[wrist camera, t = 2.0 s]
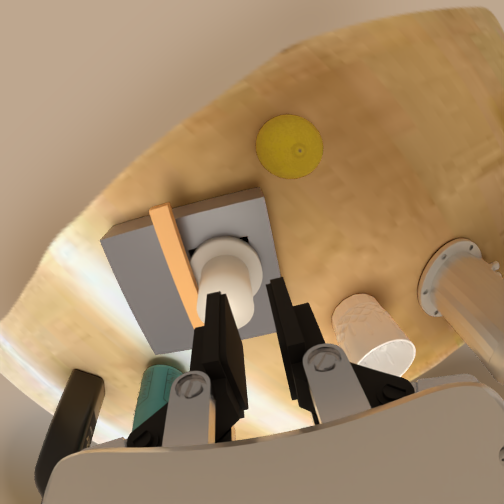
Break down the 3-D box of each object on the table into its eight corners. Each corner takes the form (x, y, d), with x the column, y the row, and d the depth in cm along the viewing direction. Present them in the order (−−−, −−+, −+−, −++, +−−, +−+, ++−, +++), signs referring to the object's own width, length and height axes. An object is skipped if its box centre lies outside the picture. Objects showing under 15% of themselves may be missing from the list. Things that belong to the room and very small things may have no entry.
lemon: (317, 153, 28) (348, 166, 21) (270, 180, 29) (285, 201, 22) (290, 105, 26) (314, 100, 19) (241, 132, 27) (246, 137, 20)
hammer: (152, 202, 25) (140, 216, 22) (177, 195, 25) (169, 207, 21) (203, 338, 32) (201, 362, 28) (224, 334, 32) (224, 358, 28)
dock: (259, 186, 29) (264, 196, 26) (284, 307, 36) (290, 328, 32) (113, 225, 30) (99, 240, 26) (160, 333, 36) (155, 354, 32)
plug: (249, 215, 30) (260, 260, 21) (262, 272, 33) (276, 332, 24) (185, 230, 30) (168, 281, 21) (203, 286, 33) (197, 348, 24)
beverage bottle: (136, 359, 38) (106, 486, 20) (179, 351, 38) (163, 490, 19) (156, 387, 41) (139, 505, 22) (196, 381, 40) (191, 507, 22)
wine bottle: (104, 377, 39) (60, 551, 12) (105, 396, 41) (70, 554, 14) (72, 366, 38) (16, 531, 11) (75, 387, 40) (30, 538, 13)
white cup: (323, 340, 39) (345, 395, 30) (330, 291, 35) (360, 346, 26) (374, 332, 39) (403, 382, 30) (386, 286, 36) (424, 333, 27)
